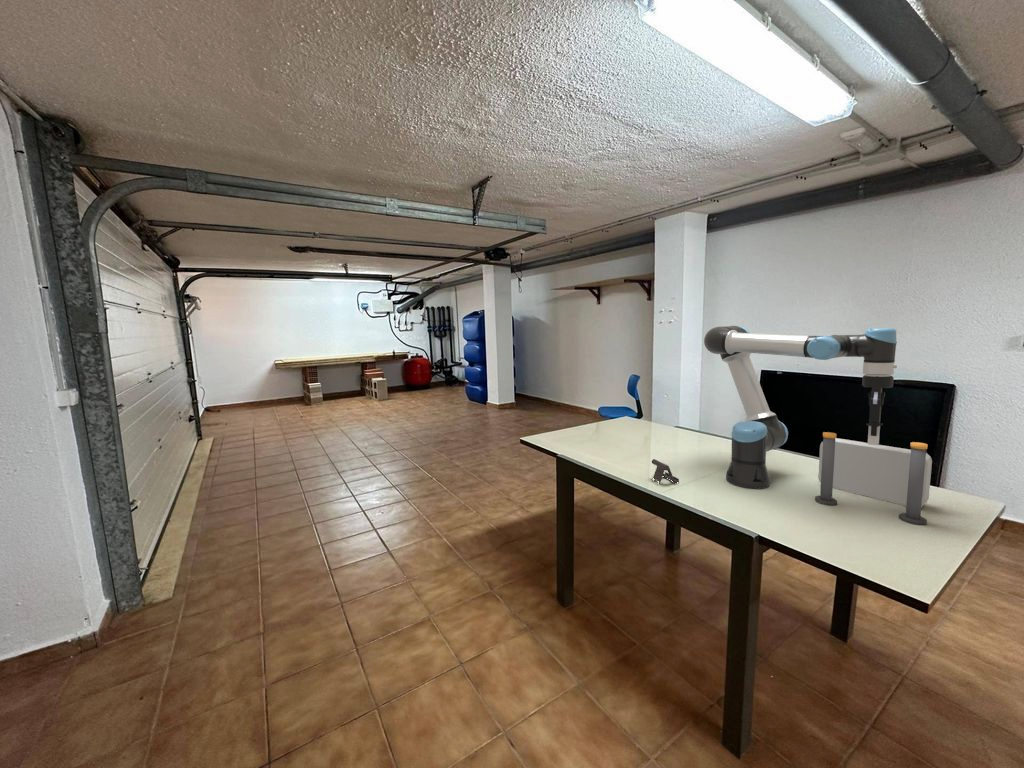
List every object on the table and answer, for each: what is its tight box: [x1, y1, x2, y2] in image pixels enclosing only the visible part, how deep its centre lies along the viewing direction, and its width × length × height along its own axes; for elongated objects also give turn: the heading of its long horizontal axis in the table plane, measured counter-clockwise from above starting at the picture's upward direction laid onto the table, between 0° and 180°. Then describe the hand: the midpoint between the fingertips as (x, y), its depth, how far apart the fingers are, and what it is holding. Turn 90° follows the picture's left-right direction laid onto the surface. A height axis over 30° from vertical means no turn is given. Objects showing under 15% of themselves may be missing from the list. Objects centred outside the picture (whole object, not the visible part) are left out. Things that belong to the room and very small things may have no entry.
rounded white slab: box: [817, 437, 933, 507], centre depth 139 cm, size 29×8×18 cm, turn 33°
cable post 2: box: [898, 441, 929, 526], centre depth 119 cm, size 6×6×24 cm
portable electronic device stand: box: [651, 458, 680, 484], centre depth 159 cm, size 9×8×8 cm
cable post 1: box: [814, 431, 838, 507], centre depth 134 cm, size 6×6×24 cm
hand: (873, 444), depth 132 cm, fingers closed
